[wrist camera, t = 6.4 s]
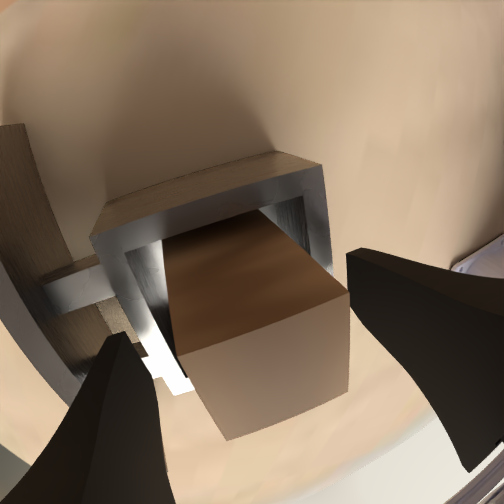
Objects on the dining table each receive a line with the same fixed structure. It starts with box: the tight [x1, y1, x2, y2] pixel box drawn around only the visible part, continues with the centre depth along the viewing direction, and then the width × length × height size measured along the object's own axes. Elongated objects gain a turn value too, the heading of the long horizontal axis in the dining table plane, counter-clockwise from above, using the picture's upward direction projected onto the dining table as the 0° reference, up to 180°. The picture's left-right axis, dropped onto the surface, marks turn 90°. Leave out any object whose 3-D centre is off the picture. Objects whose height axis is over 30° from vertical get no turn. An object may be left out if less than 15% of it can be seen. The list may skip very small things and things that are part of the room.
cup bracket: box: [0, 124, 334, 472], centre depth 11 cm, size 11×16×5 cm
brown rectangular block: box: [161, 209, 350, 441], centre depth 10 cm, size 4×4×7 cm
